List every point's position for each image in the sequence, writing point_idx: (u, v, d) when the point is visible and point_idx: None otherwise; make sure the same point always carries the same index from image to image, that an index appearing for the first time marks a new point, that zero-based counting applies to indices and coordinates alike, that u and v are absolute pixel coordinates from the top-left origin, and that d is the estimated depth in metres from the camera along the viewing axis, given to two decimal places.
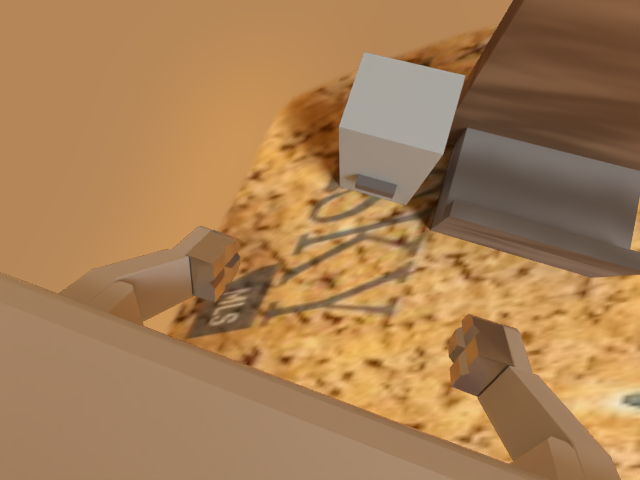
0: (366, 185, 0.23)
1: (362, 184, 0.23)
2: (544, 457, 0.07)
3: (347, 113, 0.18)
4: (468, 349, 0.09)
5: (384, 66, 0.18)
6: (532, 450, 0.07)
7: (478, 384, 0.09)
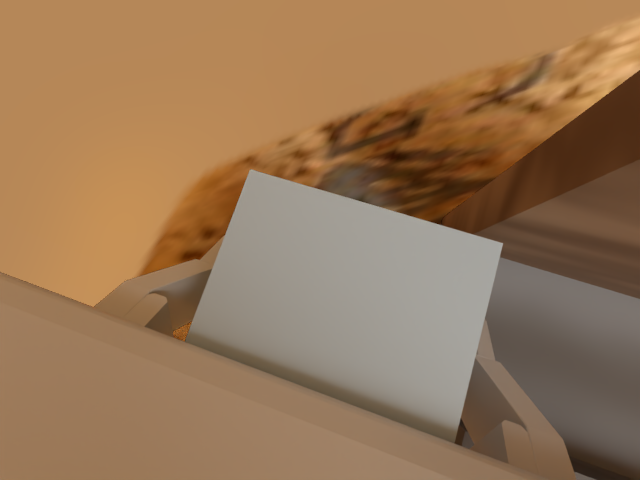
0: None
1: None
2: (497, 440, 0.07)
3: (196, 338, 0.07)
4: None
5: (296, 209, 0.07)
6: (488, 434, 0.07)
7: None
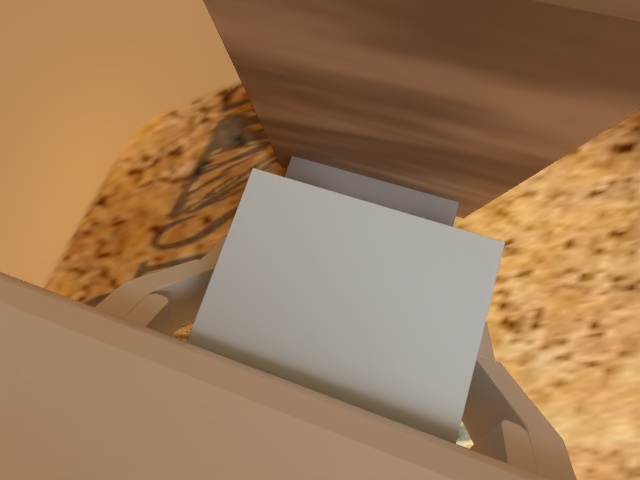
0: None
1: None
2: (497, 440, 0.07)
3: (199, 337, 0.07)
4: None
5: (299, 208, 0.07)
6: (488, 434, 0.07)
7: None
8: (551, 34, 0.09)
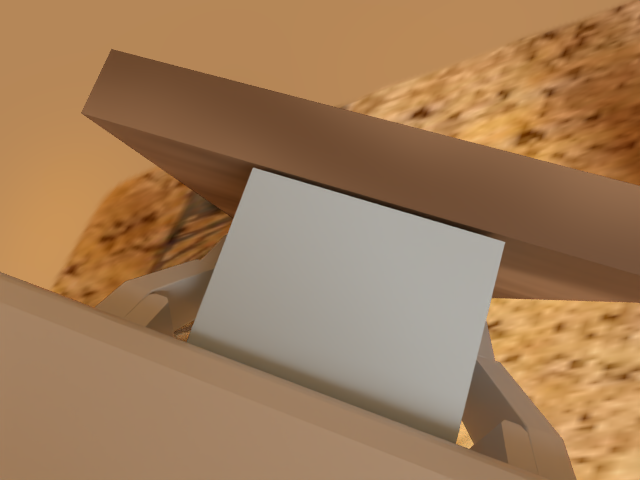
0: None
1: None
2: (497, 440, 0.07)
3: (199, 336, 0.07)
4: None
5: (299, 208, 0.07)
6: (488, 434, 0.07)
7: None
8: (517, 250, 0.08)
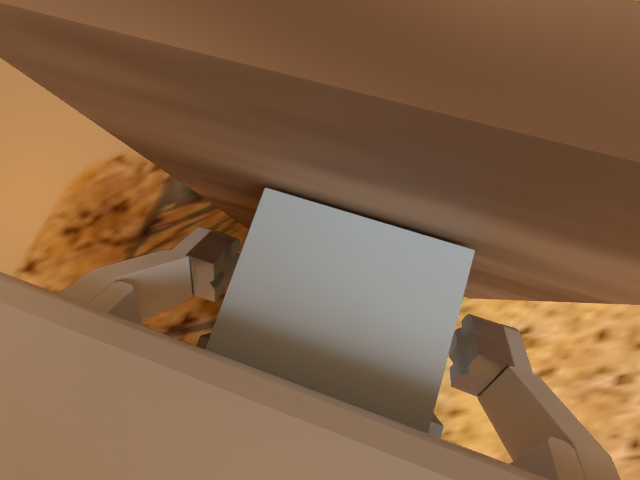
0: None
1: None
2: (544, 457, 0.07)
3: (221, 329, 0.08)
4: (468, 349, 0.09)
5: (304, 221, 0.09)
6: (532, 450, 0.07)
7: (478, 384, 0.09)
8: None
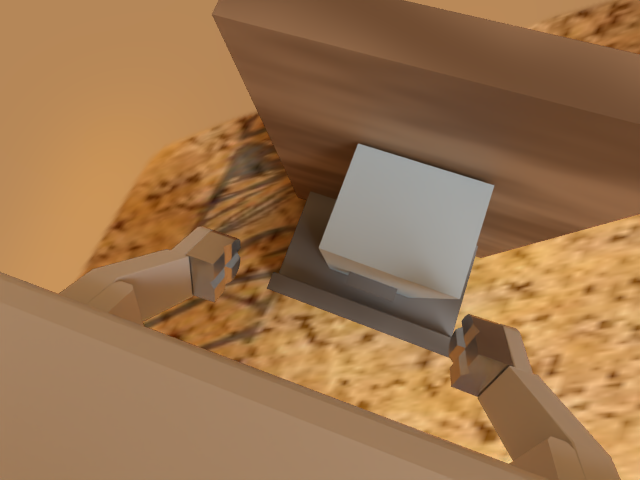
0: (359, 287, 0.18)
1: (354, 285, 0.19)
2: (544, 457, 0.07)
3: (331, 229, 0.13)
4: (469, 349, 0.09)
5: (384, 165, 0.13)
6: (532, 450, 0.07)
7: (478, 384, 0.09)
8: (596, 136, 0.09)
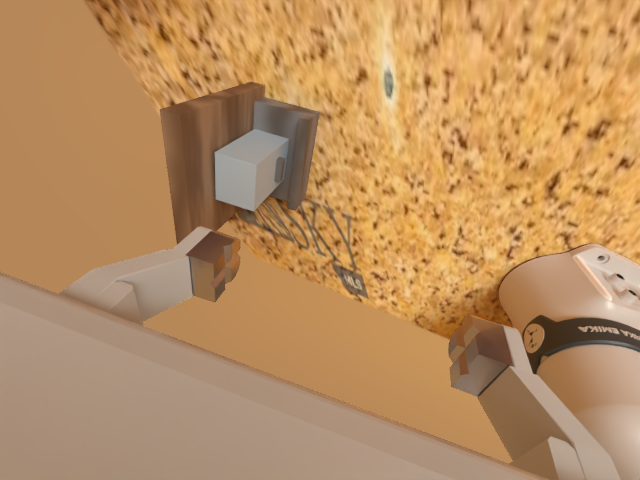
0: (280, 176, 0.40)
1: (279, 178, 0.40)
2: (544, 457, 0.07)
3: (246, 207, 0.37)
4: (468, 349, 0.09)
5: (220, 190, 0.37)
6: (532, 450, 0.07)
7: (478, 384, 0.09)
8: (189, 156, 0.30)
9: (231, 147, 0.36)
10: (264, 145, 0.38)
